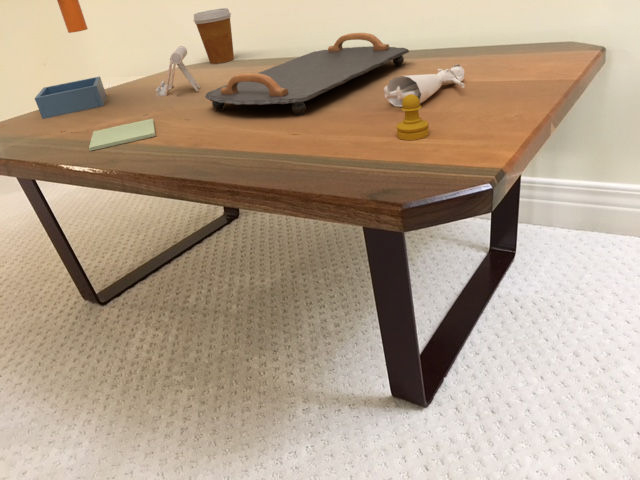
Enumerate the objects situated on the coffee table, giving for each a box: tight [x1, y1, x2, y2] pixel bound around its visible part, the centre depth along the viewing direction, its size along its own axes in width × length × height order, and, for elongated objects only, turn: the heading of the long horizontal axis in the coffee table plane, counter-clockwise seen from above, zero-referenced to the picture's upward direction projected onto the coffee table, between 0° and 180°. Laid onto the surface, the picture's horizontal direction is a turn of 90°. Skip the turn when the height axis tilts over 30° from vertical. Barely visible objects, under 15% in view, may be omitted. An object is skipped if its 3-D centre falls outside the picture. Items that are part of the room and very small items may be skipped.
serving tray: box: [205, 32, 410, 117], centre depth 97 cm, size 39×23×6 cm, turn 143°
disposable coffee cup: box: [192, 7, 235, 65], centre depth 137 cm, size 10×10×12 cm
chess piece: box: [395, 94, 430, 141], centre depth 66 cm, size 4×4×5 cm
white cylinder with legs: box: [155, 46, 201, 98], centre depth 109 cm, size 9×8×8 cm
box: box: [34, 76, 107, 120], centre depth 110 cm, size 12×12×5 cm
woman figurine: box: [383, 63, 466, 107], centre depth 81 cm, size 12×4×18 cm
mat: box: [88, 118, 157, 152], centre depth 88 cm, size 10×10×1 cm
